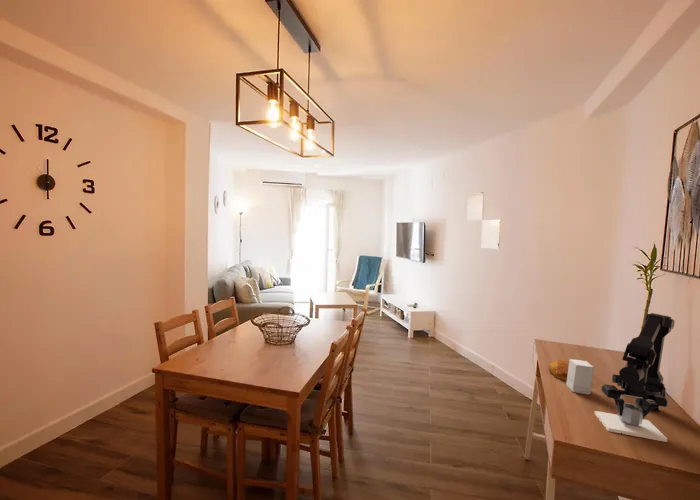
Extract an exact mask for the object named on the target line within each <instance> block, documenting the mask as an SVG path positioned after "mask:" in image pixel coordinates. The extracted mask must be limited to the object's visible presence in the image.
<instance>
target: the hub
mask: <svg viewBox="0 0 700 500" xmlns="http://www.w3.org/2000/svg"><path fill="white" fill-rule="evenodd" d="M630 408H631V409H630ZM633 409H634V410H633ZM643 413H644V410H643V409H642V408H641V407H640V406H639V405H638V404H635V403H631V402H624V407H623V411H622V415H621V416H620V415H619V414H618V413H617V415H618V416H619V417H620V419H621V420H623V421H625V422H627V423H630V424H635V425H640V424H642V419H644V418H643Z"/></svg>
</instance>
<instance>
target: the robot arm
mask: <svg viewBox="0 0 700 500" xmlns="http://www.w3.org/2000/svg"><path fill="white" fill-rule="evenodd" d="M643 321H644V322H643V323H644V324H643V327H642V329H641V330H640V333H639V335H638V336H636V337H632V339H631V340H630V342H628V343H627V344H626V347H625V349H624V353H623V356H622V359H621V360H622V361H623V362H624V361H625V362H626V365H625V366H623V367H622V368H620V370H619V373H618V374H614V373H613V374H612V377H611V381H612V383H614V384H616V385H617V386H618V387H620V388H621V389H619V388H618V387H616V385H612V384H605V383H604V384H603V385H602V386H601V392H602V393H603V394H604V395H605V396H606V397H607V398H609V399H613V400H614V402H615V407H616V411H617V415H618V414H619V415H620V416H621V415H622V411H623V407H624V402H625V400H624V399H623V397H629V398H632V399H633V398H635V401H634V403H636V405H637V406H639V407H641V408H642V409H643V410H644V413H643V419H644V418H645V417H646V416H647V415H648V414H649V413H650V412H652V411H653V412H657V413H658V412H659V413H660V412H662V410H661V409H660V407H664V408H667V407H668V404H669V402H668V399H667V398H666V394H667V389H666V387H665V383H664V377H663V375H662V373H661V372H660V368H661V363H662V362H661V361H662V355H663V348H664V344H665V337H666V336H667V335H668V334H670V332H672V330H674V327H675V323H676V322H675V320H674V318H673V319H672V317H671V316H668V315H664V314H659V313H654V312H651V313H645V315H644V320H643ZM622 389H623V390H622Z"/></svg>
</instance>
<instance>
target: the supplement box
mask: <svg viewBox="0 0 700 500" xmlns="http://www.w3.org/2000/svg"><path fill="white" fill-rule="evenodd" d="M568 362H569V367H568V375H567V381H566V384H565V385H566V386H567V388H569V390H570V391H571V392H572V393H576V394H583V395H589V394H590V395H591V391H592V383H593V377H594V369H595V367H594V366H593V365H592V364H590V362H588V361H587V360H579V359H572V358H570V359H569V361H568Z"/></svg>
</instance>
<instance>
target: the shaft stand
mask: <svg viewBox="0 0 700 500" xmlns="http://www.w3.org/2000/svg"><path fill="white" fill-rule="evenodd" d="M630 409H631V408H630ZM633 410H634V409H633ZM594 415H595V416H596V418H597V419H598V418H599V419H598V420H599V422H600V423H601V422H602V423H601V424H602V425H603V427H604V428H605V427H606V428H605V429H606V430H607V431H608V432H611V433H615V434H621V433H622V434H621V435H628V436H632V437H638V438H645V439H649V440H654V441H660V442H665V443H668V437H666V436H665V435H664V434H663V433H662V432H661V431H660V430H659V429H658V428H657V427H656V426H655V425H654V424H653V423H652V422H651V421H650V420H649V419H644V418H643V419H642V424H640V425H635V424H630V423H627V422H625V421H623V420H621V419H620V417H619V416H618V414H617V413H616V414H615V413H609V412H603V411H597V410H594Z"/></svg>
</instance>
